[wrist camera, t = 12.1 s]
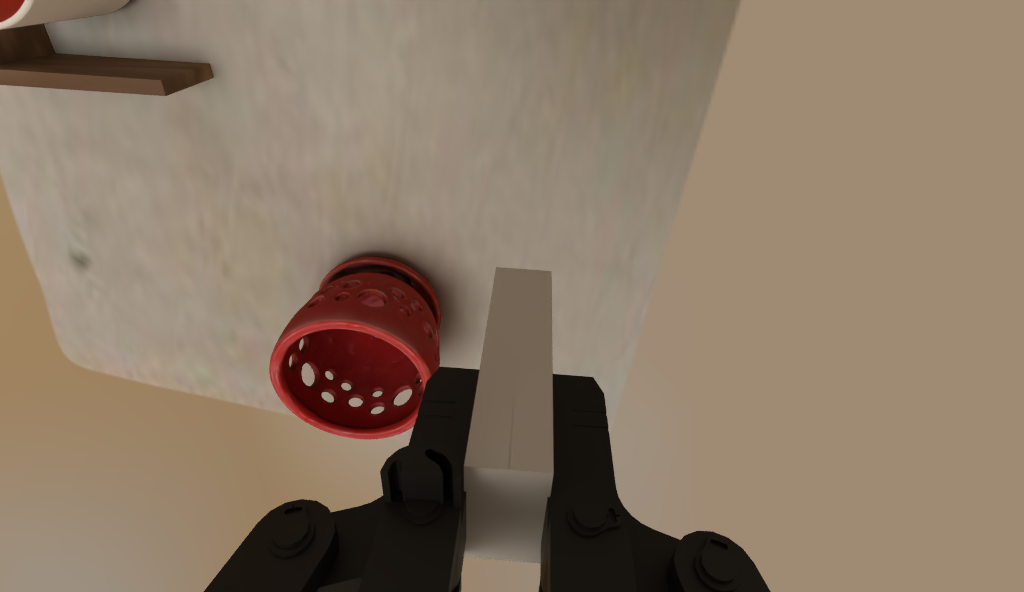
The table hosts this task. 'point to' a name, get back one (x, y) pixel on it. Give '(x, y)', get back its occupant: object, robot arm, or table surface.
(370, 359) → the plant pot
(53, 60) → the box
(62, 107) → the table surface
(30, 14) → the cup
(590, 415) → the robot arm
